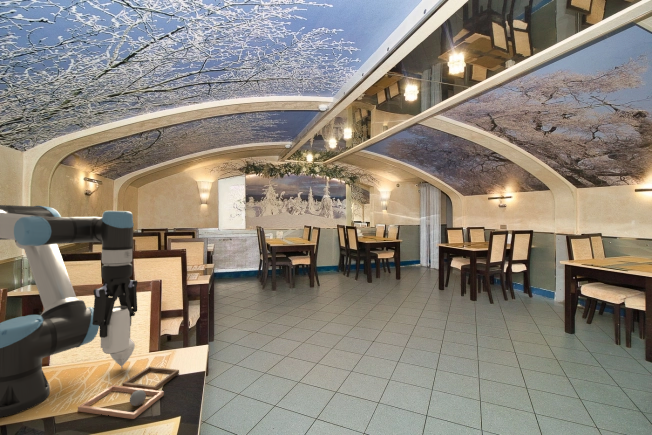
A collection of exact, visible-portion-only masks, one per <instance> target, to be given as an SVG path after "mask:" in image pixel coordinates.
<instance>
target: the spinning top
mask: <svg viewBox="0 0 652 435" xmlns="http://www.w3.org/2000/svg"><path fill="white" fill-rule="evenodd" d="M135 346H136V344H135V342H134V341H133V340H132V339H131V337H130V339H129V347H128V348H127V349H126V350H125V351H122V352H119V353H114V354H109V355H110V357H111V358H112V360H113V361H114V362H115V363H116V364H117V365H118V366H120V367H121V368H120V369H123V366H124V365H125V364H126V363H127V361H128V360H129V359H130V357H131V356H132V354H133V352H134V351H135Z"/></svg>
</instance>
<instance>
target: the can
mask: <svg viewBox="0 0 652 435" xmlns="http://www.w3.org/2000/svg"><path fill="white" fill-rule="evenodd" d="M129 317H130V314H129V310H128V307H127V306H121V305H114V307H113V311H112V315H111V318H110V322H109V324H112V337H111V348H109V349H107V348H102V352H103V353H104V354H106V355H107V354H108V355H110V354H114V353H119V352H122V351H125V350H126V349H127V348H128V347H129ZM104 321H105V320H104Z"/></svg>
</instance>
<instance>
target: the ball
mask: <svg viewBox="0 0 652 435" xmlns="http://www.w3.org/2000/svg"><path fill="white" fill-rule="evenodd" d="M146 399H147V395H146V393H145V392H144V391H143V390H137V391H135V392H133V393H131V395H130V397H129V402H130V405H131V406H133V407H139V406H141V405H143V404H144V402H145V401H146Z"/></svg>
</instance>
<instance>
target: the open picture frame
mask: <svg viewBox="0 0 652 435" xmlns="http://www.w3.org/2000/svg"><path fill="white" fill-rule="evenodd" d="M137 390H143V391H144V392H145V393H146V396H153V397H151V398H150V399H149V400H148V401H146V402H145V403H143V404H141V405H142V406H141V405H140V407H139V408H137V409H136V410H135V411H125V410H119V409H111V408H106V407H105V408H104V407H99V406H98V407H97V406H91V405H93V404H94V403H96V402H98V401H99V400H100V399H102V398H104V397H106V396H107V395H108V394H111V393H112V392H122V393H129V394H130V393H131V394H132V393H133V392H135V391H137ZM164 394H165V392H164V391H163V390H159V389H158V390H149V389H141V388H133V387H124V386H122V385H114V384H112V385H111V386H109V387H108V388H106V389H104V390H103V391H101V392H99V393H98V394H96V395H95V396H93V397H92V398H90V399H88V400H86V401H84V402H83V403H81V404H80V405H78V406H77V412H81V413H88V414H96V415H101V414H102V415H101V416H108V415H109V416H110V417H115V418H116V417H117V418H124V419H131V420H135V419H136V418H137V417H138V416H139V415H141V414H142V413H144V412H145V411H146V410H147V409H148V408H149V407H151V406H152V405H153V404H154V403H156V402H157V401H159V399H161V398H162V397H164ZM109 416H108V417H109Z"/></svg>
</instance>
